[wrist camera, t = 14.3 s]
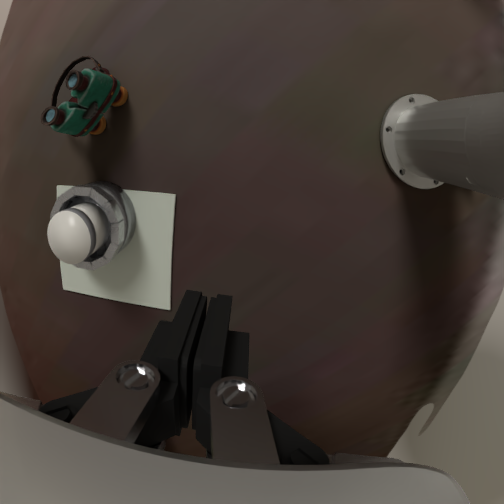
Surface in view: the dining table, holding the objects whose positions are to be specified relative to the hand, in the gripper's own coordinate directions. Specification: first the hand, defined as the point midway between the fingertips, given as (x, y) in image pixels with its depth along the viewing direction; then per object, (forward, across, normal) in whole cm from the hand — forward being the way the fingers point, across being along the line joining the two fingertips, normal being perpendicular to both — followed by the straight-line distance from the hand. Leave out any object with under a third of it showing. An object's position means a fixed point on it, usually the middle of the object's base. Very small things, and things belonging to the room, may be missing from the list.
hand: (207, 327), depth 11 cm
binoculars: (+27, +21, -12) cm, 37 cm away
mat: (+27, +17, +8) cm, 33 cm away
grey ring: (+27, +18, +4) cm, 32 cm away
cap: (+23, +18, +4) cm, 29 cm away
